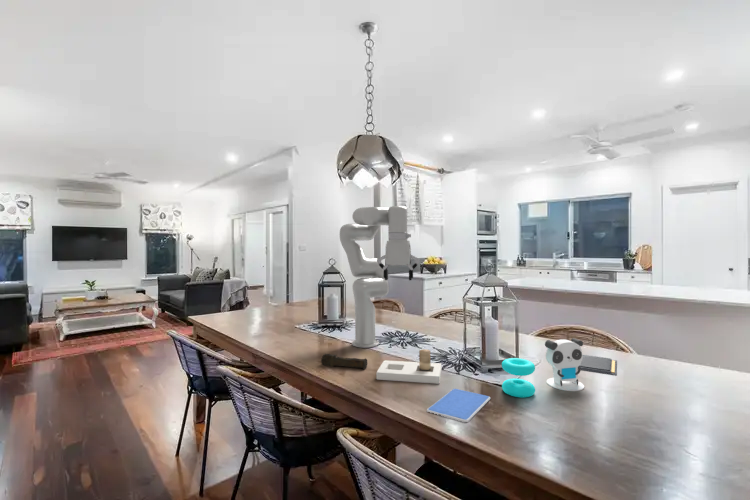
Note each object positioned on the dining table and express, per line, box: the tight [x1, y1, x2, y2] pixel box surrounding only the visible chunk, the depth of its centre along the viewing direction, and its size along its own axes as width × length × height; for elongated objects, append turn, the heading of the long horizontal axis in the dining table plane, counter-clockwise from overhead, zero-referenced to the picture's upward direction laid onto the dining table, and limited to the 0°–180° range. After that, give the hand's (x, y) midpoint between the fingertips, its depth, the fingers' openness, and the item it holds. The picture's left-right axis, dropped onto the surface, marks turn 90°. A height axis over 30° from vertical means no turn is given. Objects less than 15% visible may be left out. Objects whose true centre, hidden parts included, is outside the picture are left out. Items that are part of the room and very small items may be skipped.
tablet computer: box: [426, 388, 491, 423], centre depth 113 cm, size 19×13×1 cm, turn 144°
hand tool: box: [320, 353, 368, 370], centre depth 150 cm, size 19×4×5 cm, turn 70°
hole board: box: [376, 360, 442, 385], centre depth 139 cm, size 14×22×2 cm, turn 77°
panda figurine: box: [544, 337, 585, 392], centre depth 128 cm, size 12×11×15 cm
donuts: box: [501, 357, 536, 399], centre depth 122 cm, size 10×10×10 cm
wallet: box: [578, 354, 618, 377], centre depth 148 cm, size 20×2×15 cm
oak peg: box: [418, 348, 432, 372], centre depth 138 cm, size 4×4×9 cm
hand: (398, 279), depth 153 cm, fingers open, 9 cm apart
